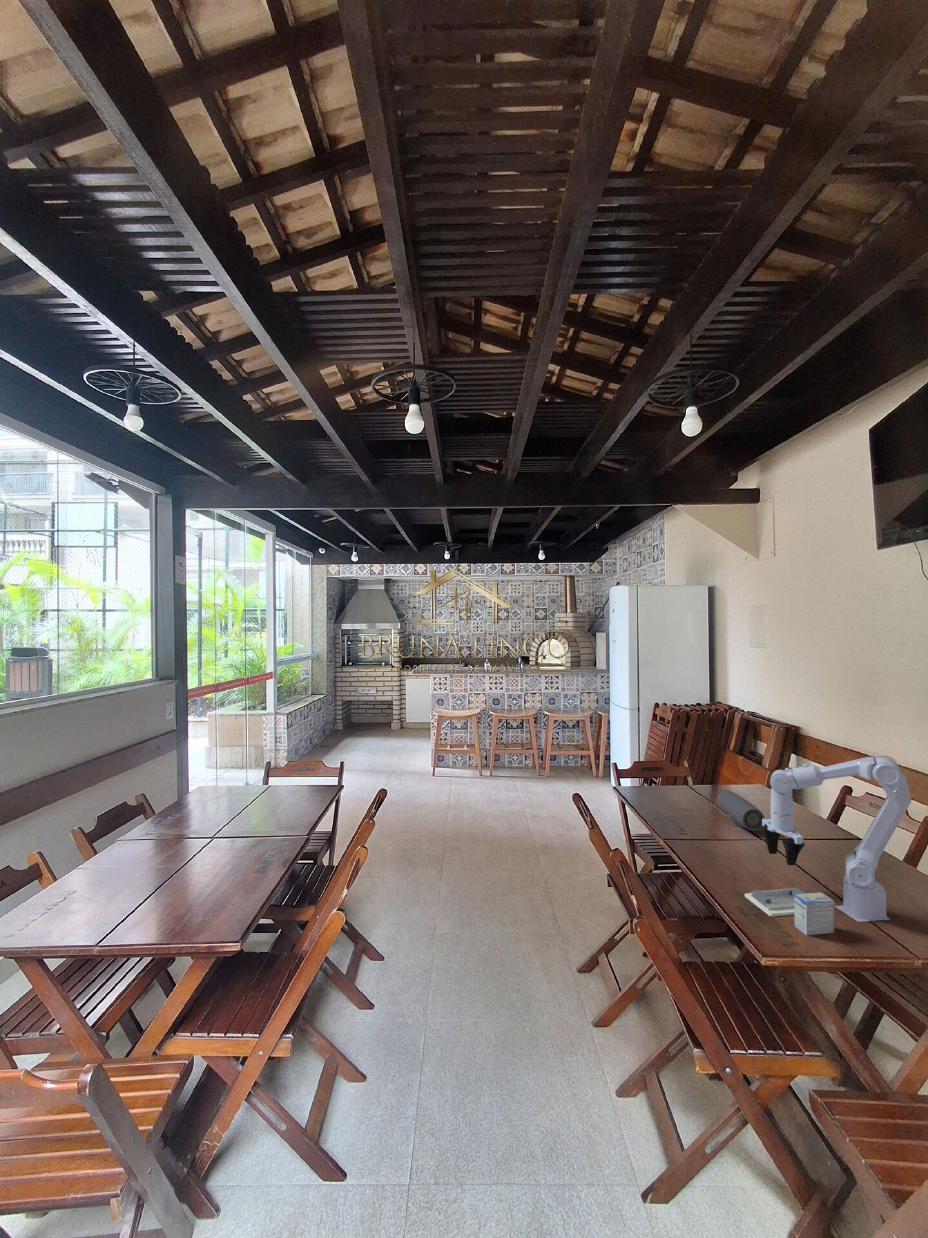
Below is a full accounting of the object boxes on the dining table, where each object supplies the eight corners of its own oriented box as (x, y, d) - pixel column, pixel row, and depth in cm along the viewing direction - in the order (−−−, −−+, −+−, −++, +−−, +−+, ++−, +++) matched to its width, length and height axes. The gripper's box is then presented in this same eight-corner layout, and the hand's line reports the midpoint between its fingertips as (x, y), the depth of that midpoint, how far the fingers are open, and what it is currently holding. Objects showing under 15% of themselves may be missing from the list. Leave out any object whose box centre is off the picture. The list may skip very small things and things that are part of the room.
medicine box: (821, 924, 145) (821, 891, 145) (834, 934, 141) (834, 900, 141) (793, 926, 144) (793, 893, 144) (806, 936, 140) (806, 902, 140)
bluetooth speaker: (766, 834, 206) (766, 807, 206) (741, 834, 207) (741, 807, 207) (737, 812, 229) (737, 788, 229) (715, 812, 229) (715, 788, 229)
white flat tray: (791, 892, 162) (791, 882, 162) (820, 912, 151) (820, 901, 151) (744, 896, 160) (744, 885, 160) (770, 916, 149) (770, 905, 149)
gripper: (752, 804, 168) (752, 849, 168) (787, 822, 153) (787, 871, 153) (774, 803, 169) (774, 848, 169) (810, 821, 154) (810, 869, 154)
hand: (781, 859), depth 161 cm, fingers open, 7 cm apart
